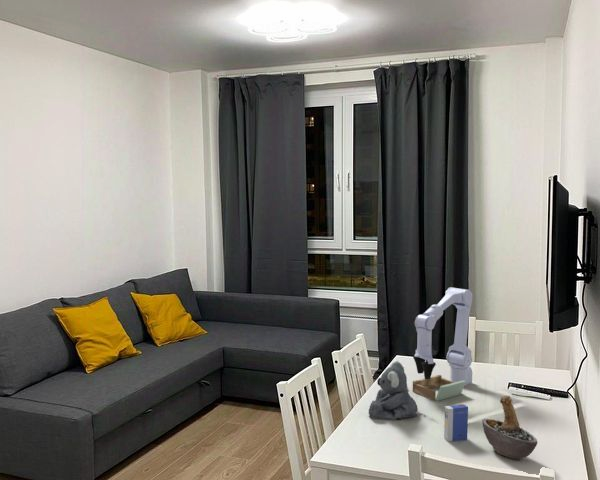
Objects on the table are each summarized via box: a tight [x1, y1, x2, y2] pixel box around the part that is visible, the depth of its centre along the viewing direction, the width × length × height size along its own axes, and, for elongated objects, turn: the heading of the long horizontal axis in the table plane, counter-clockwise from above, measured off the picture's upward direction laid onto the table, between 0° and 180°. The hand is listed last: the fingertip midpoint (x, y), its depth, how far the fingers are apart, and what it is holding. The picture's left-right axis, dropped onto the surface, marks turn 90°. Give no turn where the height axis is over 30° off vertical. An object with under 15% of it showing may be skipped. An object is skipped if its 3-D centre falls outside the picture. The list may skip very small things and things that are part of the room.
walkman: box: [443, 403, 469, 442], centre depth 208 cm, size 8×3×12 cm, turn 105°
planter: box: [481, 394, 539, 461], centre depth 195 cm, size 15×17×20 cm
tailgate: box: [435, 380, 466, 401], centre depth 245 cm, size 14×1×7 cm, turn 123°
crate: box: [412, 374, 454, 401], centre depth 252 cm, size 16×12×6 cm
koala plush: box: [368, 360, 419, 421], centre depth 231 cm, size 17×18×20 cm
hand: (423, 376), depth 247 cm, fingers open, 7 cm apart
